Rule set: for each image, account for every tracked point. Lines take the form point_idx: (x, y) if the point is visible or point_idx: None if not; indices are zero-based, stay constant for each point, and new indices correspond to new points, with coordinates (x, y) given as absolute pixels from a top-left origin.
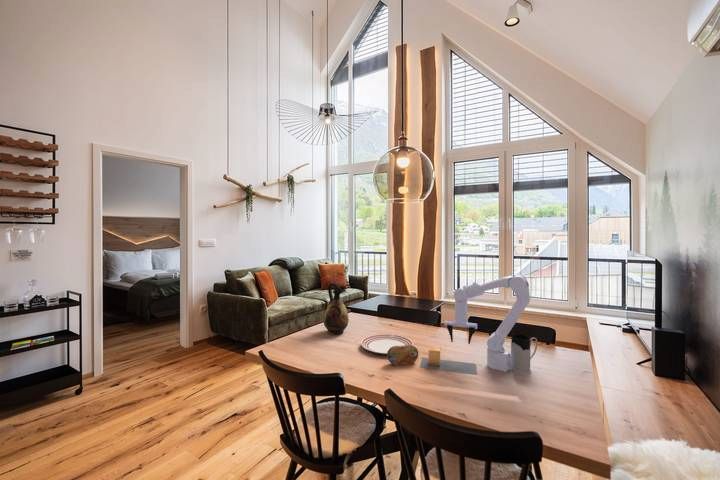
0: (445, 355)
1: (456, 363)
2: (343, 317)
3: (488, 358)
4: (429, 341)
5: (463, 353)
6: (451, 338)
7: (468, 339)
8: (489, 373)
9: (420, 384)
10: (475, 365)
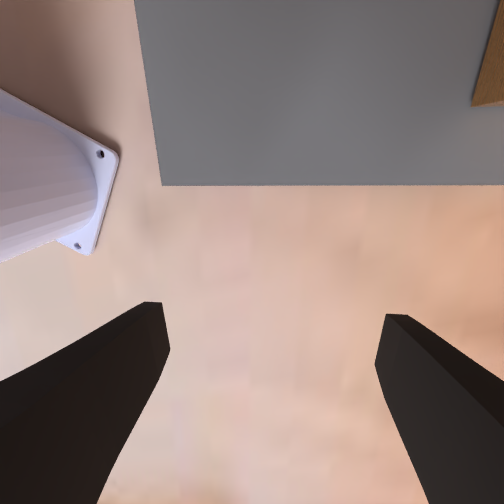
0: (366, 320)
1: (310, 135)
2: None
3: (8, 155)
4: None
5: (251, 367)
6: (448, 350)
7: (140, 368)
8: (71, 87)
9: None
10: (159, 144)
